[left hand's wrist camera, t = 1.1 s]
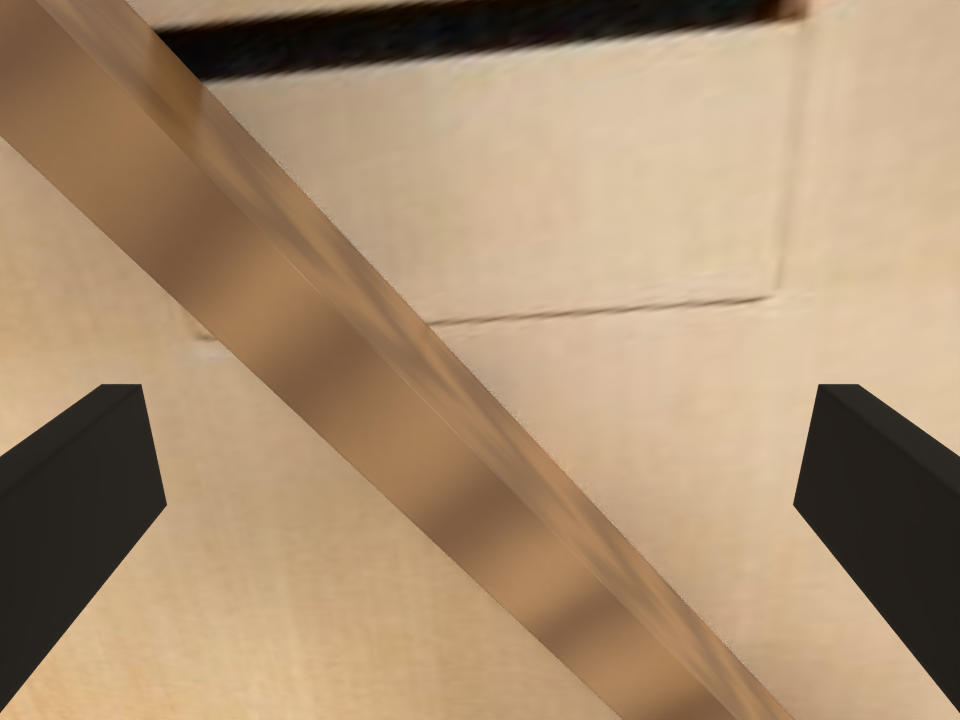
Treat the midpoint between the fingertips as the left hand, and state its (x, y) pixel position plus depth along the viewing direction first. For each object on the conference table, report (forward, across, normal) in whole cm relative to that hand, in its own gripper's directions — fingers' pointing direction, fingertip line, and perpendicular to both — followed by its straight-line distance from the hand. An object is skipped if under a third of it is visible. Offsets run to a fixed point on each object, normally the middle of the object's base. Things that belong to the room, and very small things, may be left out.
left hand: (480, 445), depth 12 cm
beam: (+22, 0, -12) cm, 25 cm away
